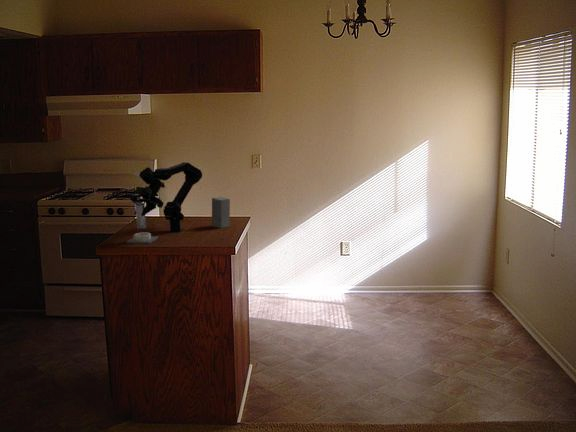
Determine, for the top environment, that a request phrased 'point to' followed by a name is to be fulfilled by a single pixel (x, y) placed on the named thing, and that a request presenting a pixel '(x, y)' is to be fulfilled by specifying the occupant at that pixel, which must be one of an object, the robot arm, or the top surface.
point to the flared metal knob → (140, 214)
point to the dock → (142, 238)
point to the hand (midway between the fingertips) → (138, 215)
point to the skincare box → (220, 212)
